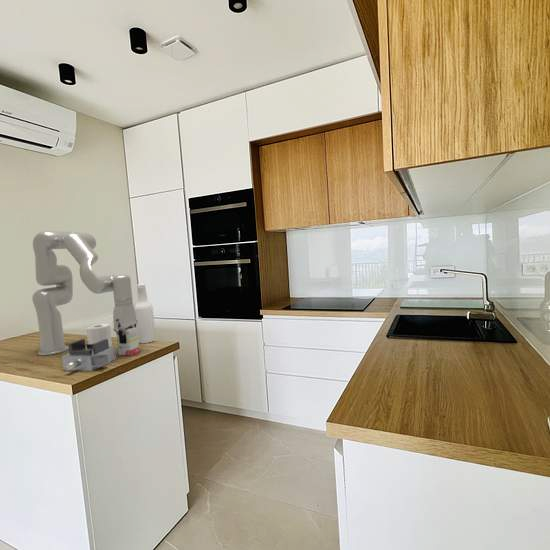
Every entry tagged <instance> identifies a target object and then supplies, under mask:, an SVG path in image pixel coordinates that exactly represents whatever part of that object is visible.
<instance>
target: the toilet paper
mask: <svg viewBox="0 0 550 550" xmlns="http://www.w3.org/2000/svg"><path fill="white" fill-rule="evenodd" d="M85 329H86V335H87V336H86V337H87V344H94V343H96V342H99V341H101V340H104V339H108V344H109V346H113V341H112V340H113V339H112V332H111V325H110V323H100V324H93V325H89V326H86V328H85Z"/></svg>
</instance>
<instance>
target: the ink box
mask: <svg viewBox="0 0 550 550" xmlns="http://www.w3.org/2000/svg"><path fill="white" fill-rule="evenodd" d="M121 331H122V329H121ZM115 335H116V343H117V344H116V345H117V353H118V355H119V356H131V357H132V356H135V355H137V354H139V353H140V346H139V345H140V343H139V342H138V334H137V328H128V327H127V328H125V334H124V335H126V342H127V343H126V344H120V341H119V335H118V334H117V333H116V332H115Z"/></svg>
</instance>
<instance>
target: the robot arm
mask: <svg viewBox="0 0 550 550" xmlns="http://www.w3.org/2000/svg"><path fill="white" fill-rule="evenodd" d="M96 240H97V239H96V238H95V236H93V235H92V234H90V233H87V232H76V231H63V230H62V231H61V230H60V231H59V230H57V231H56V230H54V231H53V230H46V231H40V232H38V233H37V234H36V235H35V236H34V237H33V240H32V249H33V252H34V258H35V263H34V265H35V281H36V283H37V284H38V285H39V286H44V287H45V286H51V287H47V288H46V287H45V288H41V289H38V290H36V291H35V292H34V293H33V294H32V300H31V301H32V303H33V306H34V309H35V312H36V316H37V324H38V330H39V332H38V333H39V337H40V339H39V340H40V343H39V344H38V345H36V349H37V348H38V349H40V350H39V351H38V352H37V354H38V355H39V356H51V355H57V354H60V353H64V352H66V351H69V346H68V345H66V343H65V338H64V327H63V320H62V314H61V312H60V310H59V309H58V308H57V307H58V306H63V305H67V304H69V303H70V302H71V301H72V299H73V294H74V293H73V287H74V285H73V283H74V282H73V280H74V279H73V273H72V270H71V268H69V267H68V266H67V265H66V264H58V258H57V257H58V256H57V255H56V254H55V252H54V250H67V251H68V252H69V254H70V255H72V258H74V260H75V261H76V263H77V264H78V265H79V270H78V271H79V276H80V280H81V281H82V283H83V284H84V285H85V287H86V288H87V289H88V290H89V291H90V292H91V293H93V294H97V295H98V294H105V293H110V292H113V300H114V301H113V302H114V307H113V312H112V313H113V317H112V318H113V321H112V323H113V331H114V332H115V334H116V333H117V334H118V335H119V341H120V344H126V343H127V342H126V335H124V334H125V328H136V325H137V323H138V321H137V320H136V314H135V305H134V300H133V291H132V282H131V276H130V275H128V274H122V275H121V274H119V275H114V274H110V275H100V276H98V275H97V274H96V272H94V270H93V268H92V266H93V265H95V263H96V262H97V261H98V259H99V255H98V254H97V252H96V251H95V250H94V249H95V248H96V246H97V241H96ZM121 329H122V331H121Z"/></svg>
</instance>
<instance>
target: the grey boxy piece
mask: <svg viewBox="0 0 550 550" xmlns="http://www.w3.org/2000/svg"><path fill="white" fill-rule="evenodd" d="M67 346H69V349H68V353H66V354H62V355H61V360H62V361H61V362H62V369H63V371H67V372H68V371H74V372H75V371H76V372H77V370H78V372H94V371H96V370H97V369H100V368H101V367H103V366H105V364H106V365H107V364H109V363H112V362H113V360H114V361H115V359H116V360H117V359H118V358H117V352H116V350H117V348H116V345H112V346H109V344H108V339H104V340H101V341H99V342H96V343H94V344H88V343H87V344H86V339H85V338H81V339H78V340H75V341H73V342H70V343H68V345H67ZM111 361H112V362H111Z"/></svg>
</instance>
